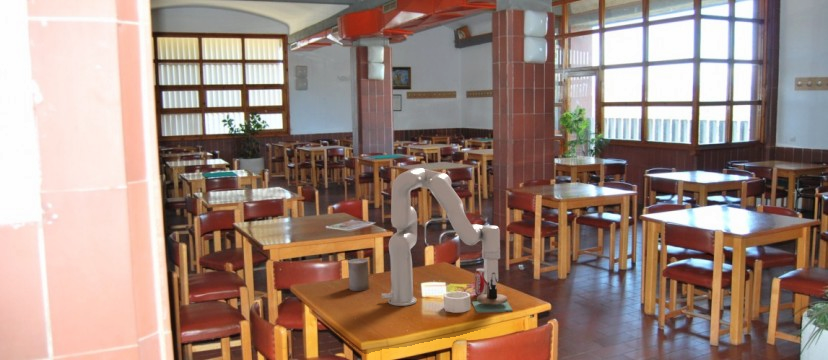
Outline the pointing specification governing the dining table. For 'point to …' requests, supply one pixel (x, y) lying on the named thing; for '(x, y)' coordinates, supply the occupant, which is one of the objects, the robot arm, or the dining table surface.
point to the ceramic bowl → (457, 301)
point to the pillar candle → (358, 274)
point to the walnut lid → (492, 301)
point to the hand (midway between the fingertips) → (491, 296)
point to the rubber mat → (491, 307)
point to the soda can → (480, 282)
